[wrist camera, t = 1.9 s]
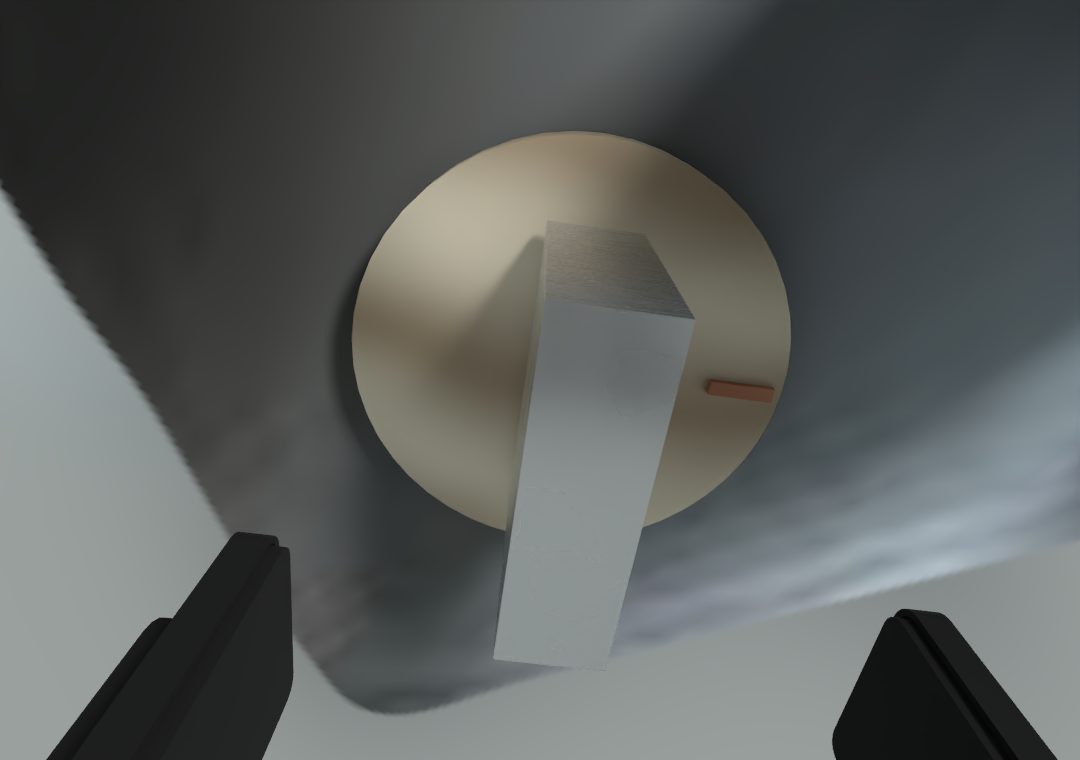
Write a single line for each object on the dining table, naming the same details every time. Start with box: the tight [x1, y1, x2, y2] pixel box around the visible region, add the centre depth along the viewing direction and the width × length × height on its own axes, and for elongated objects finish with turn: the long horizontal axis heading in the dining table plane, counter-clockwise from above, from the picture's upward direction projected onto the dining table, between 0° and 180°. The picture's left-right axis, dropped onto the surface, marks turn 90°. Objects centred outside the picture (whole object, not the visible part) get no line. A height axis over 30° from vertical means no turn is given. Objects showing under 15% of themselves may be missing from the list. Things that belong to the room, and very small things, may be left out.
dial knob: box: [493, 220, 696, 671], centre depth 15 cm, size 10×2×6 cm, turn 172°
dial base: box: [352, 131, 791, 531], centre depth 18 cm, size 12×12×2 cm
